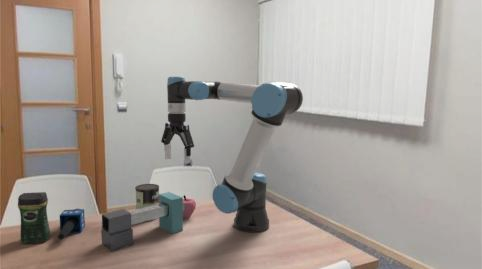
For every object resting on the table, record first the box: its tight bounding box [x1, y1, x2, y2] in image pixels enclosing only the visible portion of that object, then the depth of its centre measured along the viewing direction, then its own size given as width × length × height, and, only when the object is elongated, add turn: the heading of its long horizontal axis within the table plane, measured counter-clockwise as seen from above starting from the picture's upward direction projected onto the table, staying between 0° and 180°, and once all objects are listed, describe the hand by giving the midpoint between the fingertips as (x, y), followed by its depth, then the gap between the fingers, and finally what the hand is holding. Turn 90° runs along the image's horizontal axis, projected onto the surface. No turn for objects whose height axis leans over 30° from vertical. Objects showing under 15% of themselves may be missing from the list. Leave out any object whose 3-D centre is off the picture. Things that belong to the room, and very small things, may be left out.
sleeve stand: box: [100, 208, 134, 253], centre depth 135 cm, size 8×8×12 cm
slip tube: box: [127, 203, 169, 226], centre depth 143 cm, size 4×22×4 cm, turn 134°
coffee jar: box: [17, 191, 51, 245], centre depth 137 cm, size 10×8×19 cm
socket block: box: [158, 191, 184, 234], centre depth 151 cm, size 10×5×14 cm, turn 44°
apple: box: [182, 194, 197, 220], centre depth 163 cm, size 10×9×10 cm
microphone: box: [57, 207, 86, 241], centre depth 145 cm, size 8×8×25 cm
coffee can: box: [135, 183, 160, 222], centre depth 163 cm, size 10×10×14 cm
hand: (177, 161), depth 160 cm, fingers open, 13 cm apart
